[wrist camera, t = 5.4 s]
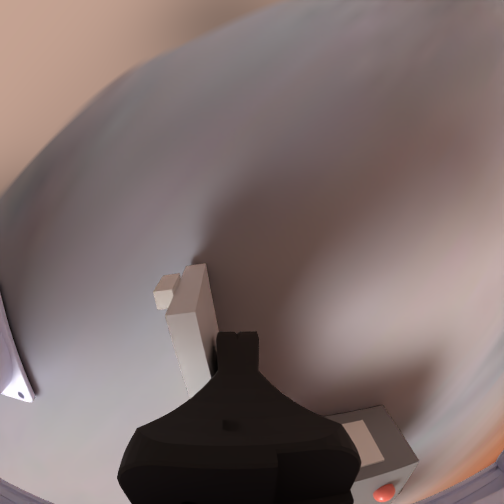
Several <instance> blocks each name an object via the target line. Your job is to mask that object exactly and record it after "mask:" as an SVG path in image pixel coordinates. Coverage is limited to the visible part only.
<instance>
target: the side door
mask: <svg viewBox="0 0 504 504" xmlns="http://www.w3.org/2000/svg"><path fill="white" fill-rule="evenodd" d="M153 294H154V298H155V302H156V306H157V310H162V309H168V310H167V312H166V314H165V317H166V321H167V325H168V329H169V332H170V336H171V340H172V343H173V347H174V350H175V353H176V357H177V360H178V364H179V367H180V370H181V373H182V376H183V380H184V383H185V386H186V389H187V392H188V395H189V398H192V397H193V396H194V395H195V394H196V393H197V392H198V391H199V390H201V389H202V388H203V387H204V386H205V385H206V384H207V383H208V382H209V380H210V379H211V378H212V377H213V376H214V375H215V373H216V372H217V371H218V364H217V349H216V337H217V333H218V332H219V329H218V325H217V320H216V314H215V309H214V304H213V299H212V294H211V288H210V283H209V278H208V272H207V266H206V263H204V264H197V265H190V266H186V268H185V270H184V272H183V275H182V277H181V278H180V273H178V274H171V275H164V276H163V277H162V278H161V280H160V281H159V283H158V285H157V286H156V288H155V290H154V291H153Z"/></svg>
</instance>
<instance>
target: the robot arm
mask: <svg viewBox="0 0 504 504" xmlns="http://www.w3.org/2000/svg"><path fill="white" fill-rule="evenodd" d="M216 349H217V364H218V371H217V372H216V373H215V375H214V376H213V377H212V378H211V379H210V380H209V382H208V383H207V384H206V385H205V386H204V387H203V388H202V389H201V390H199V391H198V392H197V393H196V394H195V395H194V396H193V397H192V398H190V399H189V400H188V401H187V402H185V403H184V404H182V405H181V406H179V407H178V408H176V409H175V410H173V411H172V412H170V413H168V414H167V415H165V416H163V417H161V418H159V419H157V420H154V421H152V422H150V423H148V424H146V425H144V426H141V427H139V428H137V429H136V431H135V433H134V435H133V436H132V438H131V440H130V442H129V444H128V446H127V448H126V450H125V452H124V455H123V458H122V461H121V465H120V468H119V471H118V476H117V479H118V482H119V484H120V486H121V488H122V490H123V491H124V493H125V494H126V496H127V497H128V499H129V500H130V502H131V503H132V504H353V503H354V499H353V496H352V493H351V488H352V486H353V484H354V482H355V480H356V477H357V475H358V473H359V471H360V468H361V463H362V462H361V459H360V455H359V453H358V450H357V448H356V446H355V444H354V442H353V441H352V439H351V438H350V436H349V435H348V433H347V431H346V430H345V428H344V427H343V425H342V424H340V423H338V422H335V421H332V420H330V419H327V418H325V417H322V416H320V415H317V414H315V413H313V412H311V411H309V410H307V409H306V408H304V407H302V406H300V405H298V404H297V403H295V402H294V401H292V400H291V399H289V398H288V397H286V396H285V395H284V394H282V393H281V392H280V391H279V390H277V389H276V388H275V387H274V386H273V385H272V384H271V383H270V382H269V381H268V380H267V379H266V378H265V377H264V376H263V375H262V374H261V373H260V372H259V370H258V362H259V338H258V334H257V332H239V333H238V334H236V333H235V332H218V333H217V337H216ZM0 394H4V395H7V396H10V397H13V398H16V399H19V400H23V401H26V402H30V403H32V402H33V401H34V400H35V395H34V392H33V390H32V388H31V386H30V383H29V381H28V378H27V376H26V373H25V371H24V368H23V366H22V363H21V360H20V358H19V355H18V352H17V349H16V346H15V343H14V340H13V337H12V334H11V331H10V328H9V324H8V321H7V317H6V313H5V310H4V306H3V302H2V298H1V293H0ZM0 504H54V503H51V502H49V501H47V500H44V499H42V498H39V497H37V496H35V495H33V494H31V493H28V492H26V491H24V490H22V489H20V488H18V487H16V486H14V485H12V484H10V483H8V482H6V481H5V480H3V479H1V478H0ZM413 504H504V450H503V451H502V453H501V454H500V455H499V457H498V458H497V460H496V462H495V463H493V464H492V465H490V466H488V467H487V468H485V469H483V470H482V471H480V472H478V473H476V474H475V475H473V476H471V477H469V478H467V479H466V480H464V481H462V482H460V483H458V484H456V485H454V486H452V487H450V488H448V489H446V490H444V491H441V492H439V493H437V494H435V495H433V496H430V497H428V498H426V499H423V500H421V501H418V502H416V503H413Z"/></svg>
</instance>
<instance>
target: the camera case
mask: <svg viewBox="0 0 504 504" xmlns="http://www.w3.org/2000/svg"><path fill="white" fill-rule="evenodd" d="M324 417H325V418H327V419H330V420H332V421H335V422H338V423H340V424H342V425H343V427H344V428H345V430H346V431H347V433H348V435H349V436H350V438H351V439H352V441H353V442H354V444H355V446H356V448H357V450H358V453H359V455H360V459H361V462H362V463H361V468H360V471H359V473H358V475H357V477H356V480H355V482H354V484H353V486H352V488H351V493H352V496H353V499H354V503H353V504H391V503H392V501H393V500H394V499H395V497H396V496H397V495H398V494H399V493H400V492H401V491H402V488H403V486H404V485H405V483H406V482H407V480H408V479H409V477H410V476H411V474H412V472H413V471H414V469H415V468H416V466H417V465H418V463H419V459H418V458H417V456H416V455H415V453H414V452H413V450H412V449H411V447H410V445H409V444H408V442H407V441H406V439H405V438H404V436H403V435H402V433H401V432H400V430H399V429H398V427H397V426H396V424H395V423H394V421H393V420H392V418H391V417H390V415H389V414H388V412H387V411H386V409H385V407H384V406H383V405H380V406H376V407H372V408H367V409H362V410H358V411H353V412H347V413H342V414H336V415H330V416H324Z"/></svg>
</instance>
